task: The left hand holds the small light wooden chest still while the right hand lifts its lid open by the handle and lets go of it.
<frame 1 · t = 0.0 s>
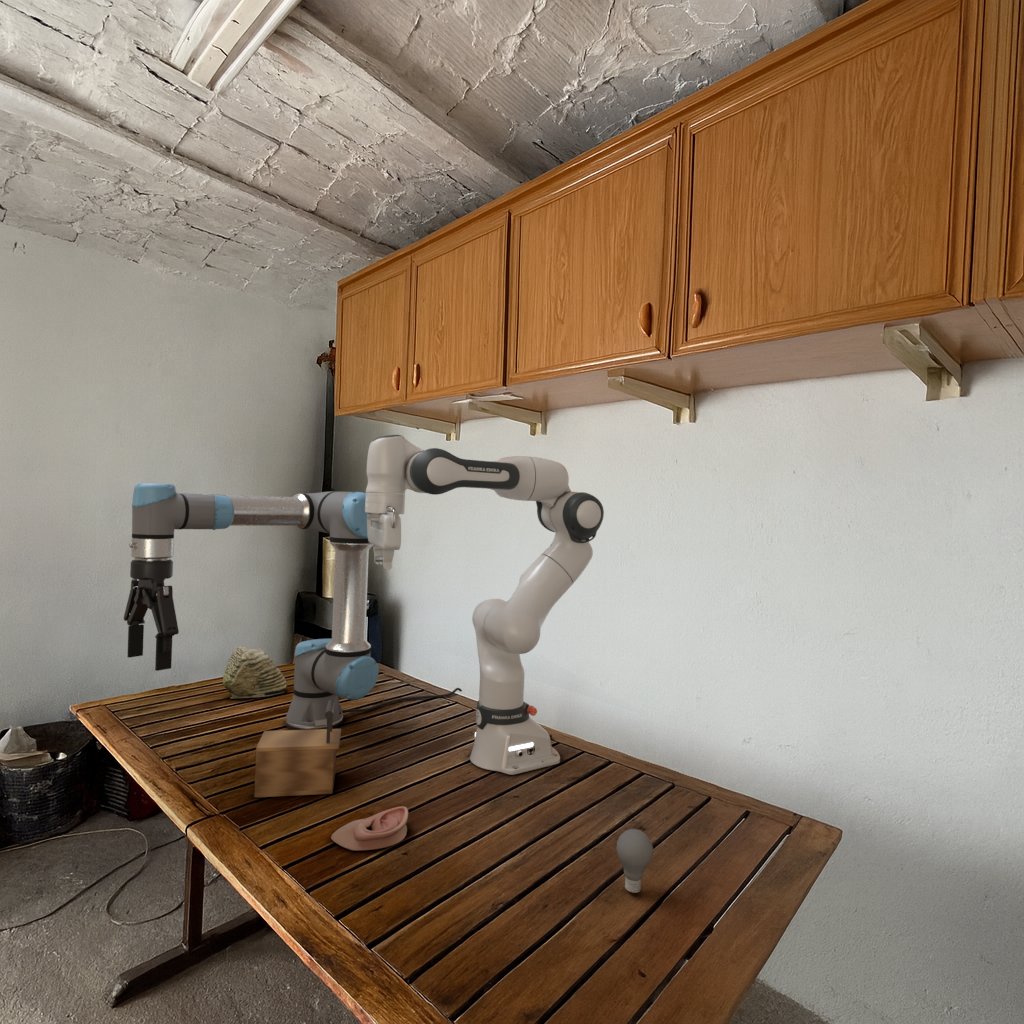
left hand: (148, 662, 129), 28 cm above the table, tool pointing down, fingers open, 13 cm apart
right hand: (382, 566, 144), 48 cm above the table, tool pointing down, fingers open, 8 cm apart
chest: (296, 785, 138), on the table
lid: (301, 723, 138), point 14 cm above the table, hinge at 0.0°
fossil: (254, 694, 198), on the table
anatomical model: (370, 836, 119), on the table
light bulb: (632, 891, 106), on the table
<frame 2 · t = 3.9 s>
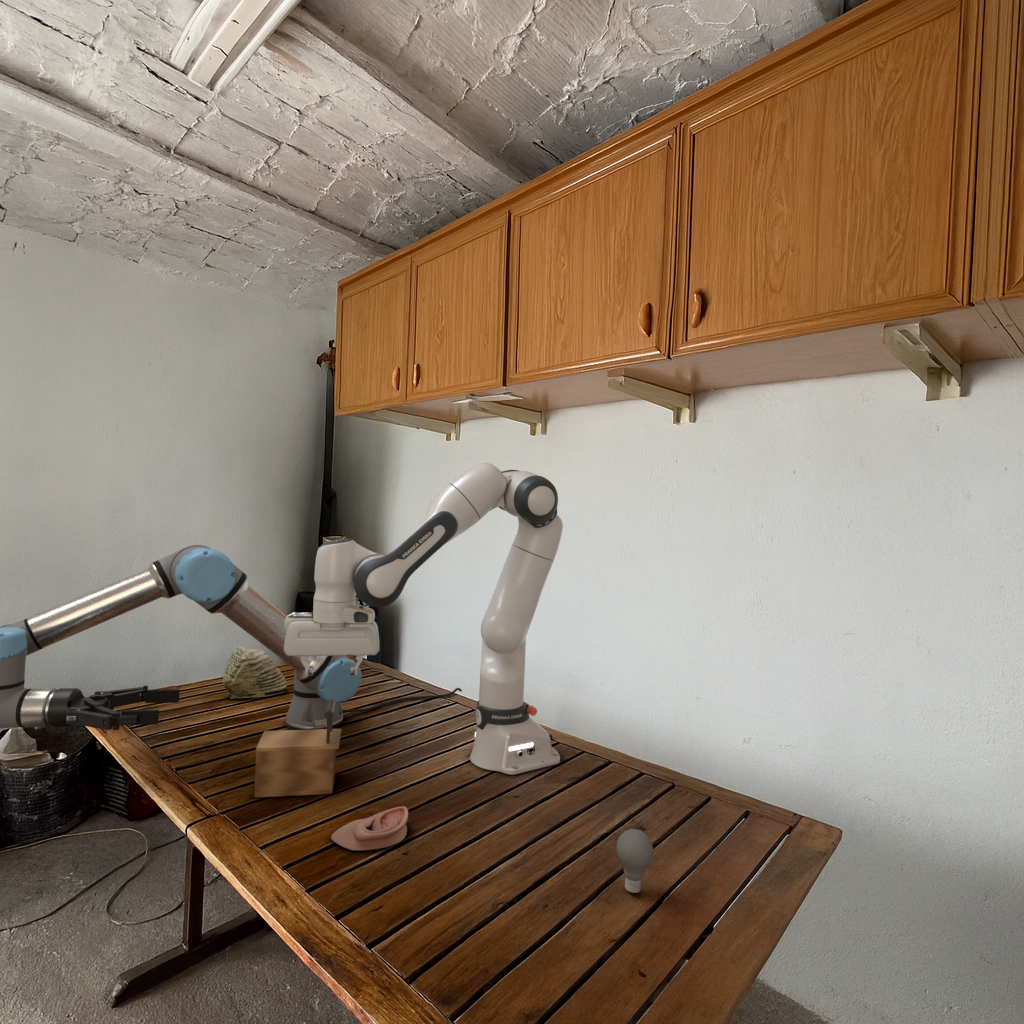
left hand: (169, 705, 133), 18 cm above the table, tool horizontal, fingers open, 13 cm apart
right hand: (331, 675, 139), 24 cm above the table, tool pointing down, fingers open, 8 cm apart
nothing on the table moved.
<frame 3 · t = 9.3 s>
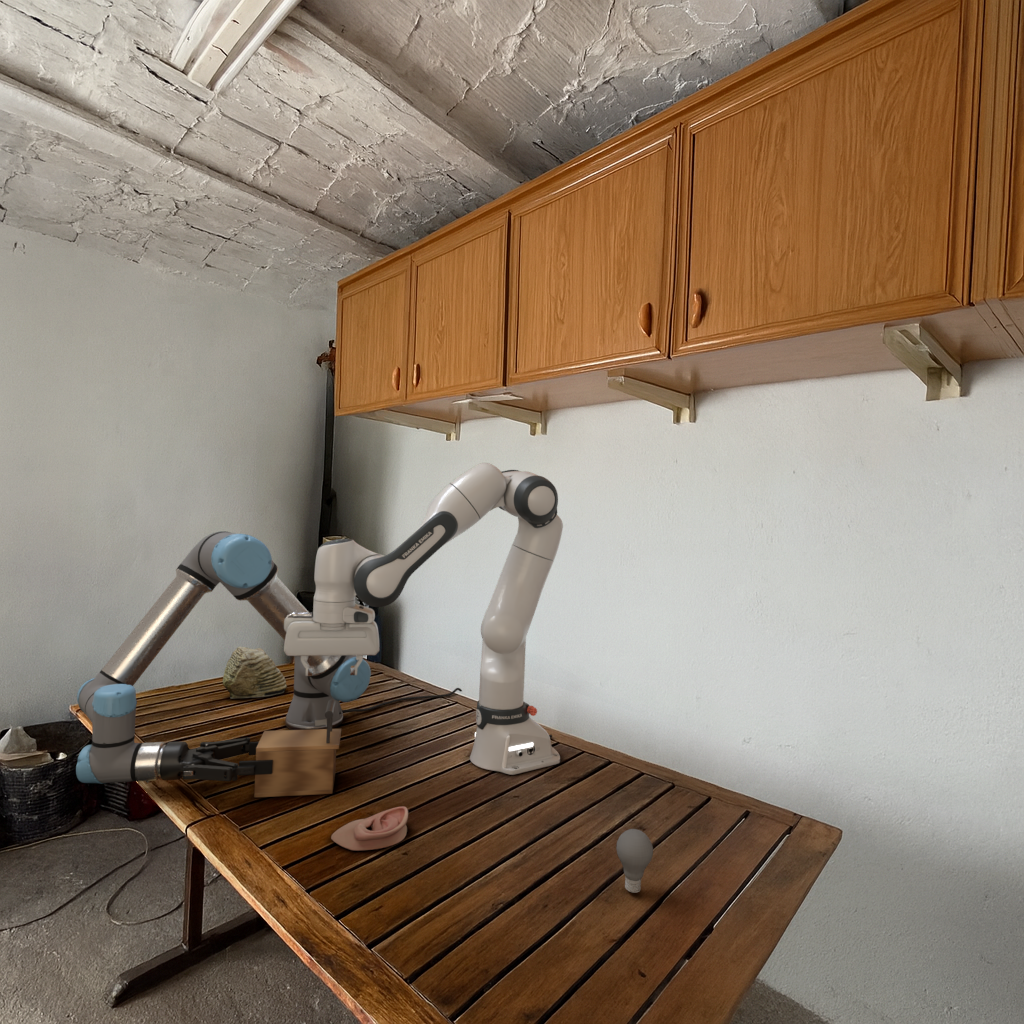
left hand: (276, 756, 137), 6 cm above the table, tool horizontal, fingers closed on chest, 10 cm apart
right hand: (331, 675, 139), 24 cm above the table, tool pointing down, fingers open, 8 cm apart
chest: (296, 785, 138), on the table, touching left hand
everything else where it was.
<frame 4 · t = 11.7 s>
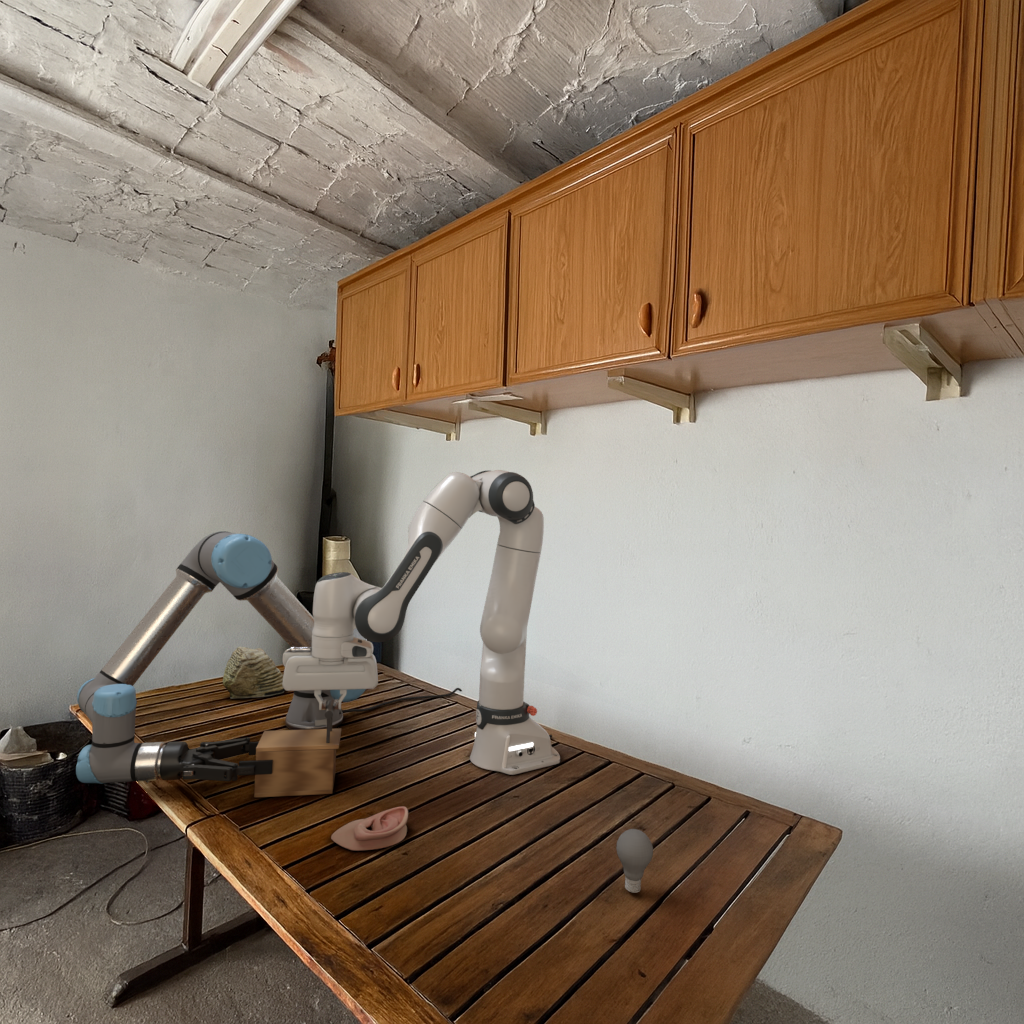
left hand: (276, 756, 137), 7 cm above the table, tool horizontal, fingers closed on chest, 10 cm apart
right hand: (330, 708, 140), 17 cm above the table, tool pointing down, fingers closed on lid, 2 cm apart
chest: (296, 785, 138), on the table, touching left hand
lid: (301, 723, 138), point 14 cm above the table, hinge at 0.2°, touching right hand
everything else where it was.
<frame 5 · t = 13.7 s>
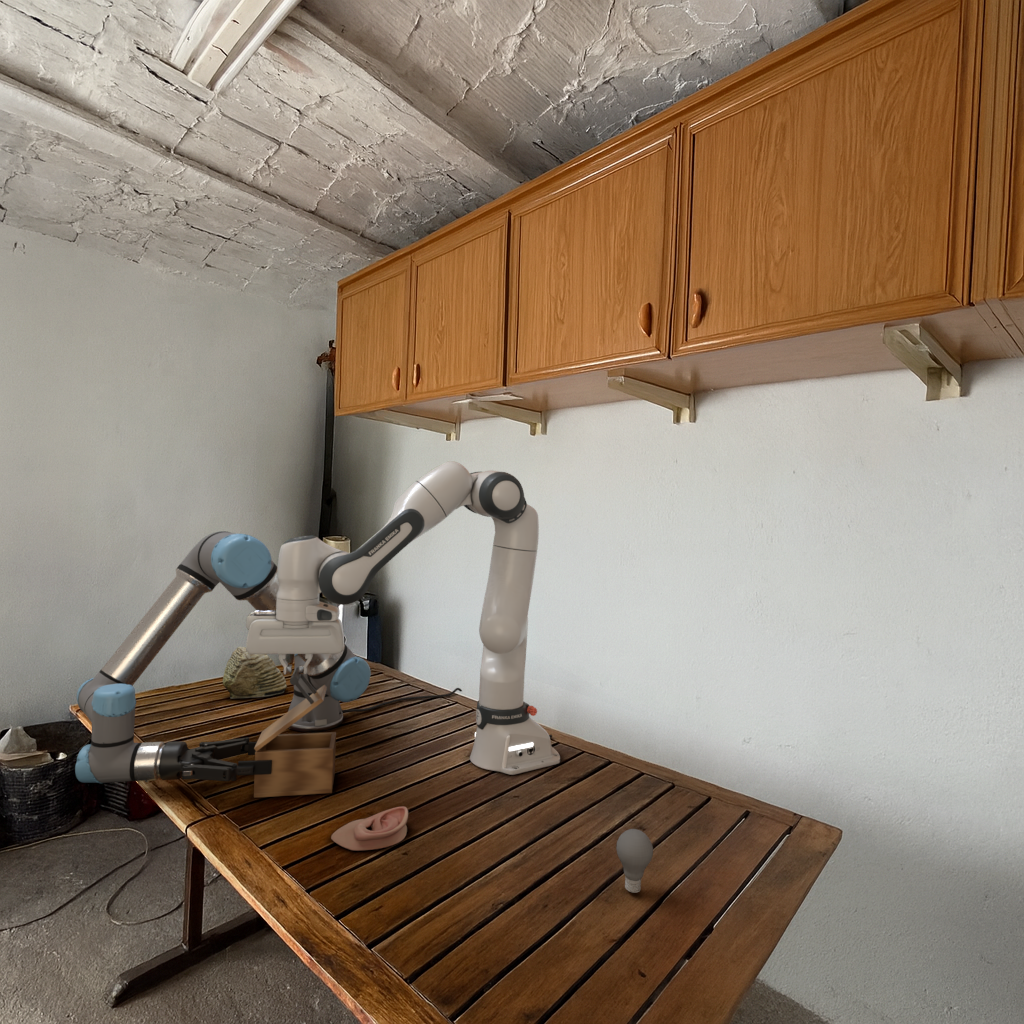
left hand: (275, 756, 137), 6 cm above the table, tool horizontal, fingers closed on chest, 10 cm apart
right hand: (295, 673, 138), 25 cm above the table, tool pointing down, fingers closed
chest: (296, 785, 139), on the table, touching left hand
lid: (281, 704, 137), point 18 cm above the table, hinge at 37.8°, touching right hand
everything else where it was.
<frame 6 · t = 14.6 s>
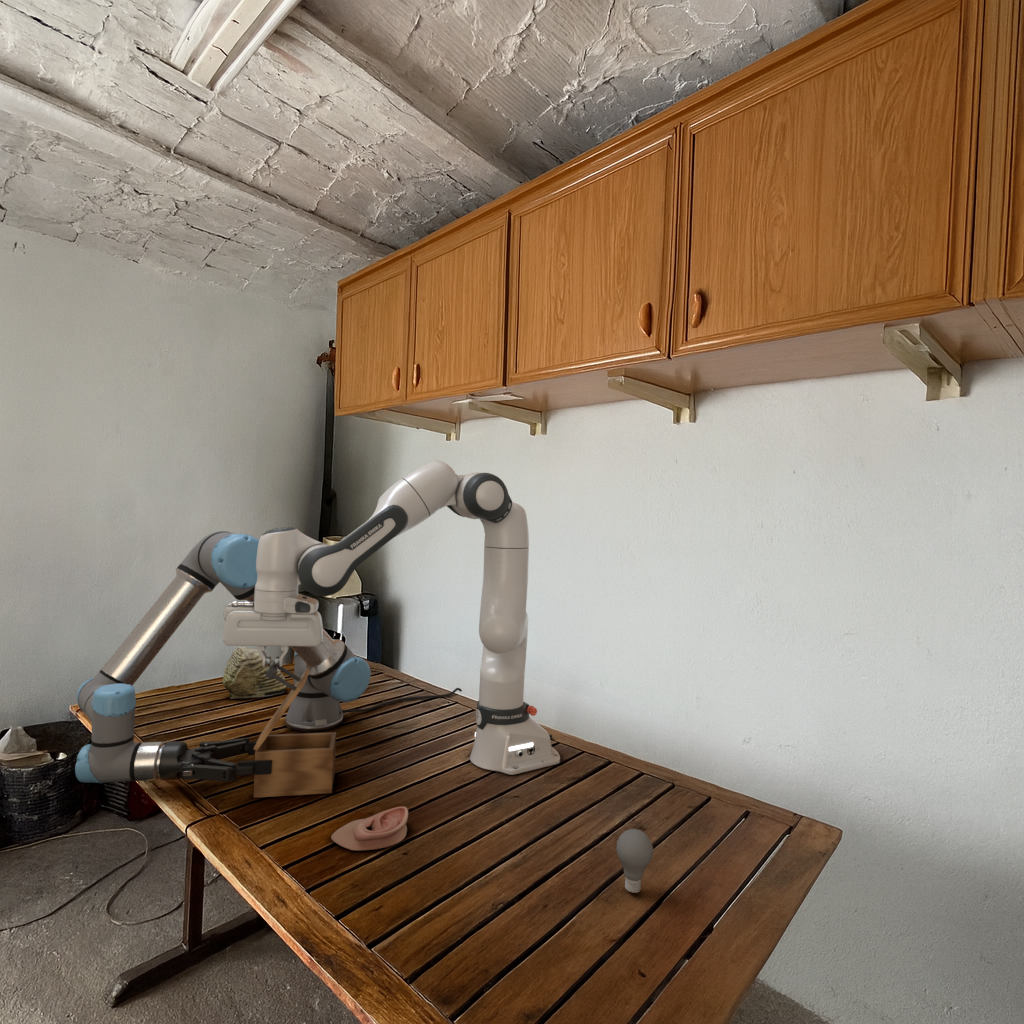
left hand: (275, 756, 137), 6 cm above the table, tool horizontal, fingers closed on chest, 10 cm apart
right hand: (272, 665, 137), 26 cm above the table, tool pointing down, fingers closed, pressing on lid
chest: (296, 785, 139), on the table, touching left hand
lid: (268, 700, 137), point 19 cm above the table, hinge at 56.5°, touching right hand
everything else where it was.
when the left hand's fingers open (6 cm above the table, at t = 19.8 s): chest stays where it is, on the table.
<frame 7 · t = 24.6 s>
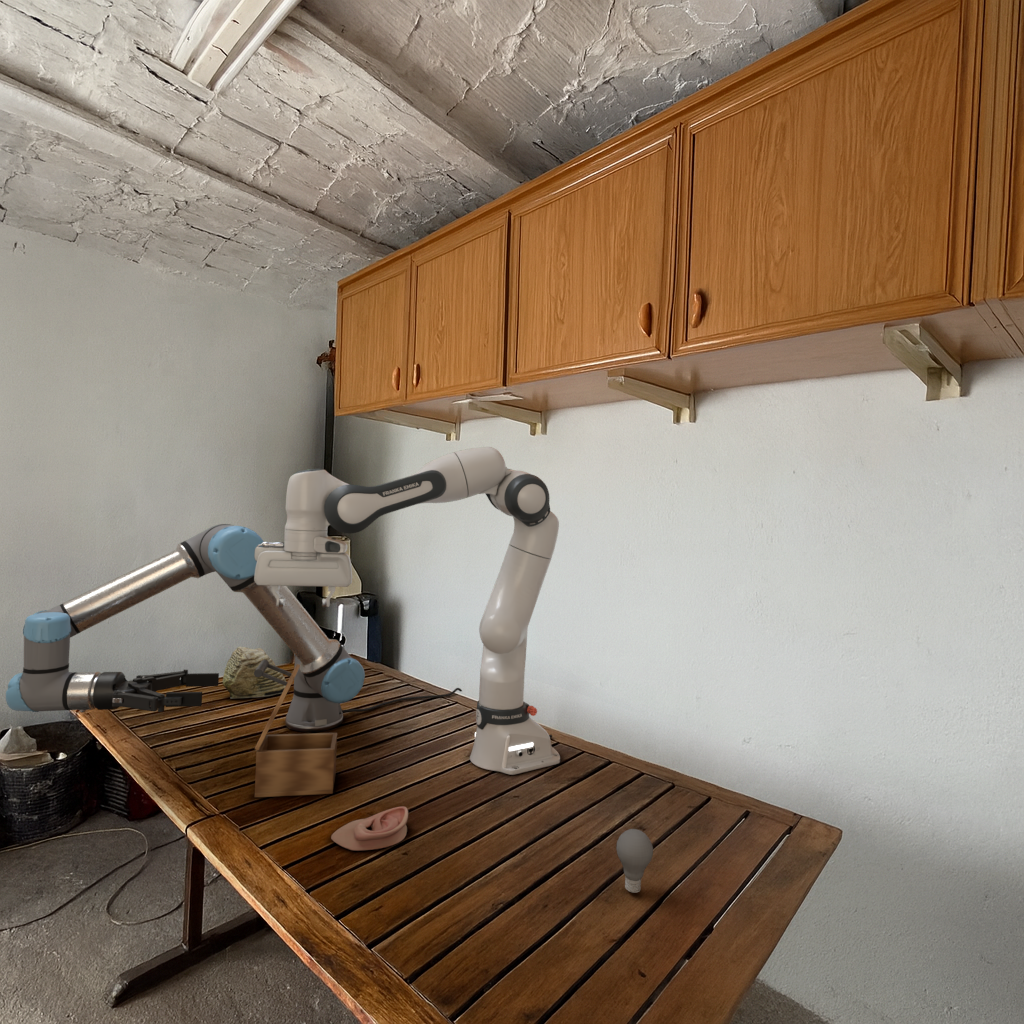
left hand: (210, 688, 134), 22 cm above the table, tool horizontal, fingers open, 13 cm apart
right hand: (303, 606, 138), 39 cm above the table, tool pointing down, fingers open, 8 cm apart
chest: (296, 785, 139), on the table
lid: (262, 699, 137), point 19 cm above the table, hinge at 66.3°
everything else where it was.
at the end: lid at +66° (first picture: +0°); the left hand is holding nothing; the right hand is holding nothing; chest tilted 0°; chest never tilted more than 1° during the clip; chest moved 0.1 cm from its start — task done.
